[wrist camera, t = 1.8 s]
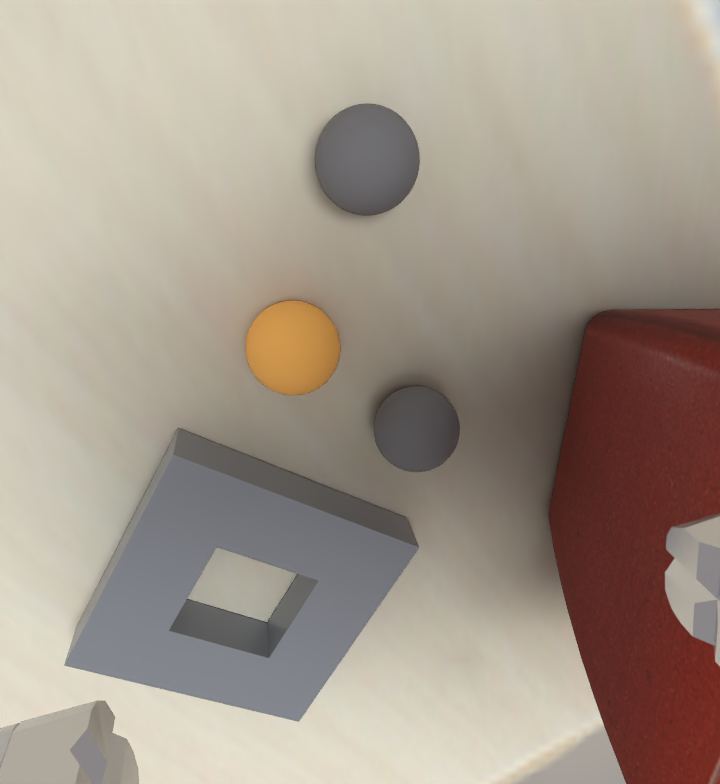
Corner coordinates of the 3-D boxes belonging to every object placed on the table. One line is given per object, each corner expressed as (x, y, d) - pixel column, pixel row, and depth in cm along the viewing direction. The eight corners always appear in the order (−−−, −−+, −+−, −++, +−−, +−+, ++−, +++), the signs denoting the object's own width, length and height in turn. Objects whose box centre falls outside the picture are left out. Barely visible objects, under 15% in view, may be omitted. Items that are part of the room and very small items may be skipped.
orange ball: (349, 314, 28) (365, 344, 25) (308, 386, 29) (317, 425, 26) (270, 273, 27) (275, 299, 23) (229, 351, 28) (228, 386, 24)
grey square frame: (407, 518, 34) (419, 547, 31) (295, 684, 37) (298, 721, 35) (178, 428, 29) (173, 454, 27) (76, 627, 33) (64, 665, 30)
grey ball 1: (423, 138, 26) (453, 142, 22) (374, 224, 27) (395, 242, 23) (340, 83, 24) (357, 78, 21) (292, 177, 25) (301, 188, 22)
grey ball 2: (459, 393, 31) (488, 430, 27) (418, 456, 32) (440, 500, 29) (392, 360, 30) (414, 394, 26) (351, 427, 31) (366, 469, 27)
